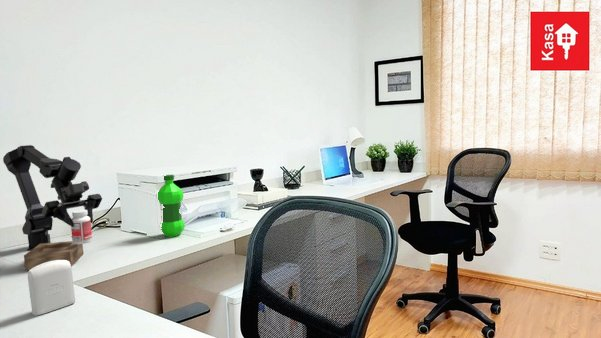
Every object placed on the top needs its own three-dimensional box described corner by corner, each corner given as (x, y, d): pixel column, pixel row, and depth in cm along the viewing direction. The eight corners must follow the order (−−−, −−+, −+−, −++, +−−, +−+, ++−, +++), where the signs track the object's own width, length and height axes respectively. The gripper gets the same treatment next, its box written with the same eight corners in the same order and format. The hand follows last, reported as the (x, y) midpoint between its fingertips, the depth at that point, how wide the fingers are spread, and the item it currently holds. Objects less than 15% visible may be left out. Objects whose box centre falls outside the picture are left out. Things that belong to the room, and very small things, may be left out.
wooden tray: (25, 270, 145) (23, 255, 145) (41, 257, 159) (40, 243, 159) (71, 266, 148) (70, 251, 147) (83, 254, 162) (82, 240, 161)
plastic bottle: (184, 237, 180) (180, 176, 177) (157, 239, 178) (152, 177, 175) (187, 231, 190) (183, 173, 187) (161, 233, 188) (157, 174, 185)
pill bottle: (92, 238, 158) (89, 208, 157) (92, 243, 153) (90, 211, 152) (72, 241, 156) (69, 210, 154) (72, 245, 150) (69, 213, 149)
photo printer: (35, 317, 110) (30, 269, 108) (29, 313, 113) (23, 266, 111) (78, 303, 118) (73, 258, 116) (71, 299, 120) (66, 255, 119)
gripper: (42, 178, 146) (60, 215, 141) (97, 171, 161) (115, 205, 156) (34, 199, 152) (51, 235, 147) (88, 190, 167) (106, 223, 161)
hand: (82, 224), depth 153 cm, fingers closed on pill bottle, 6 cm apart
